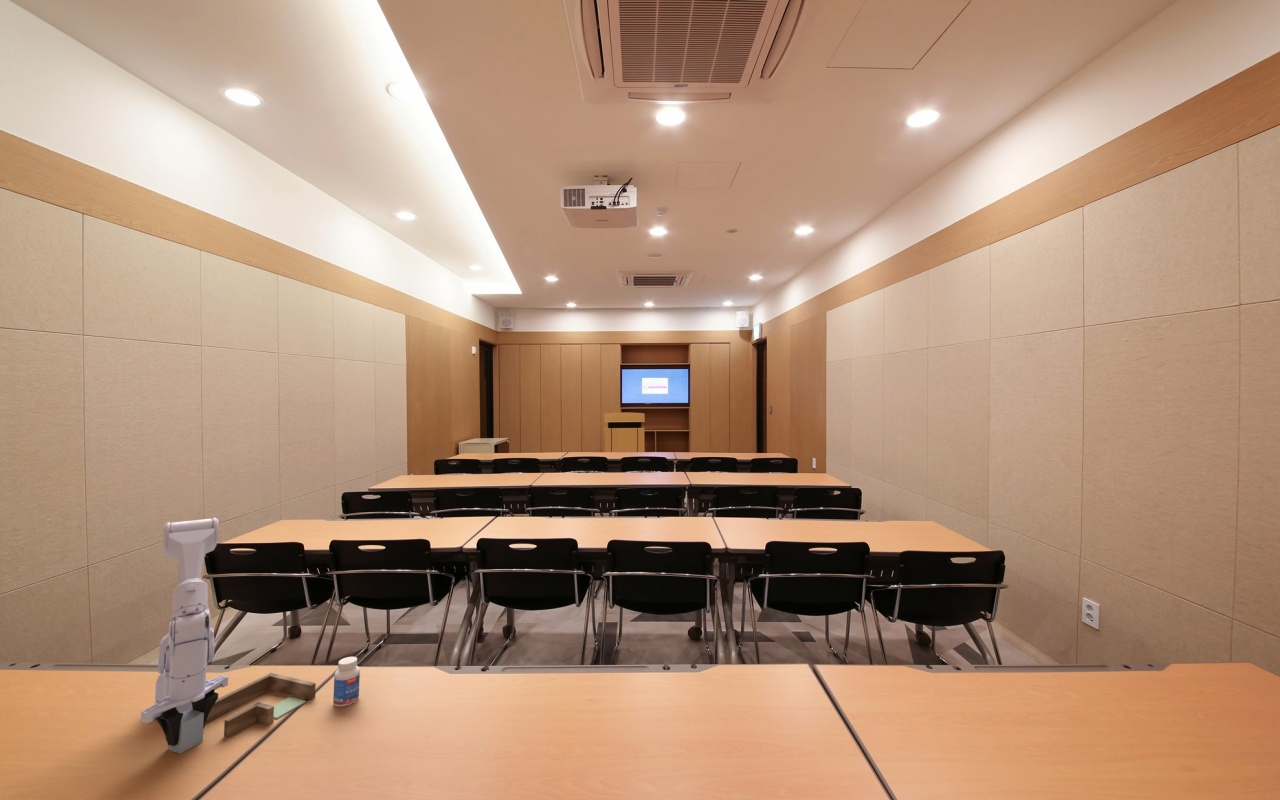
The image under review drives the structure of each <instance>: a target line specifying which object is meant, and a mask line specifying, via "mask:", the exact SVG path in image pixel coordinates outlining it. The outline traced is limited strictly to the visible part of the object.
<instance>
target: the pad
mask: <svg viewBox="0 0 1280 800" xmlns="http://www.w3.org/2000/svg"><path fill="white" fill-rule="evenodd" d="M306 703H307V701H306V700H305V699H304V700H303V699H301V698H296V697H293V696H292V697H291V696H288V697H287V698H284V699H282V700H281V701H280V702H278V703H275V704H273V706H274V719H275V720H278V719H280V718H282V717H283V716H285V715H286V714H288V713H290V712H292V711H293V710H296V709H297V708H299V707H300V706H302V705H303V704H306Z"/></svg>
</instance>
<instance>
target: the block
mask: <svg viewBox="0 0 1280 800" xmlns="http://www.w3.org/2000/svg"><path fill="white" fill-rule="evenodd" d="M203 723H204V713H203V712H200V711H196V710H192V709H191V710H188V711H186V712H184V713H183V716H182V719H181V723H180V728H179V740H178V744H177V745H175V746H171V745H168V744H167V750H169V751H170V752H171V751H172V752H174V753H178V754H182V753H184V752H186V751H189V750H190V749H191V748H193V747H195V746H197V745H199V744H201V743H202V742H203V741H204V729H203Z"/></svg>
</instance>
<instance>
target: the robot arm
mask: <svg viewBox="0 0 1280 800" xmlns="http://www.w3.org/2000/svg"><path fill="white" fill-rule="evenodd" d="M219 524H220V522H219V519H218V518H217V517H212V518H205V519H204V518H203V519H195V520H186V521H176V522H175V521H174V522H170V521H169V522H166V523H165V524H164V525H163V541H162V547H163V553H164V554H165V555H164V556H165V557H167V558H174V559H175V562H176V563H177V565H178V570H177V571H178V576H177V586H176V587H175V588H173V591H172V608H171V610H172V612H171V613H172V615H171V620H169V623H168V624H169V625H168V633H167V634H166V635H164V636H163V637H162V638H161V640H160V642H159V648H158V661H157V673H158V674H159V675H158V677H157V678H156V681H155V690H154V691H155V692H154V693H155V695H154V704H153V705H152V706H150V707H148V708H146V709H144V710H142V711H140V722H142V723H145V724H149V723H150V722H153V721H154V720H156V722H157V723H158V724H159V726H160V728H161V729H162V731H163V734H164V737H165V739H166V743H167V746H168V745H171V746H175V745H177V744H178V740H179V728H180V723H181V719H182V716H183V713H184V712H186V711H188V710H191V709H192V710H196V711H200V712H203V713H204V723H203V730H204V729H205V727H206V726H205V725H206V723H207V722H206V720H207V717H208V715H209V713H210V711H211V709H212V707H213V705H214V703H215V702H216V700H217V699H218V698H219V693H218V692H215V691H216V690H218V689H220V688H225V687H227V686H228V685H229V676H227V675H219V676H217V677H215V678H211V679H209V680H208V679H207V667H208V663H211V662H212V661H213V660H214V659H215V631H214V629H213V627H211V626H212V620H211V619H212V616H211V612H210V606H209V584H208V583H207V582H206V581H204V580H202V571H203V564H204V563H203V562H204V557H205V556H206V554H209V553H210V552H213V551H214V550H215V548H216V547H217V545H218V544H217V543H218V541H219V535H220V533H219V532H220V531H219V530H220V529H219V528H220V527H219V526H220V525H219Z"/></svg>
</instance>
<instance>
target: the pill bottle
mask: <svg viewBox="0 0 1280 800" xmlns="http://www.w3.org/2000/svg"><path fill="white" fill-rule="evenodd" d="M337 665H338V667H337V670H336V671H335V673H334V677H333V678H334V679H333V697H332V698H333V700H332V701H333V705H334V707H337V708H342V706H343V707H348V706H350V705H352V703H353V704H354V703H355V701H356V700H357V699H358V700H359V696H360V677H361V675H360V673H361V669H360V667H359V666H358V657H356V656H347V657H344V658H342V659H340V660H339V661H338V664H337ZM358 700H357V701H358ZM357 701H356V702H357ZM347 705H348V706H347Z"/></svg>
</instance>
